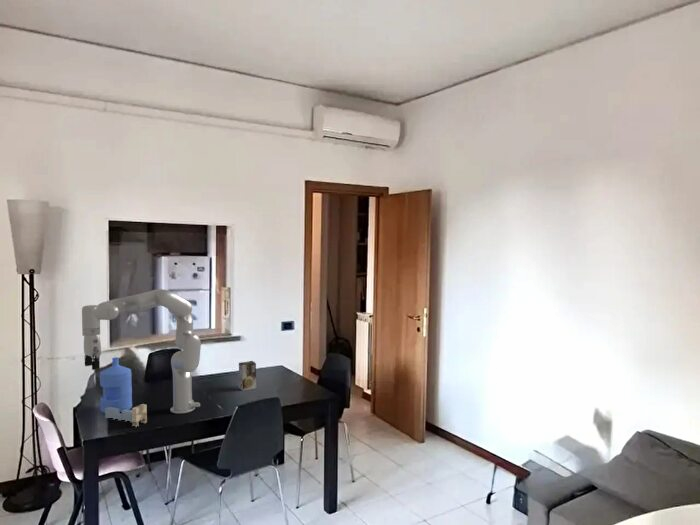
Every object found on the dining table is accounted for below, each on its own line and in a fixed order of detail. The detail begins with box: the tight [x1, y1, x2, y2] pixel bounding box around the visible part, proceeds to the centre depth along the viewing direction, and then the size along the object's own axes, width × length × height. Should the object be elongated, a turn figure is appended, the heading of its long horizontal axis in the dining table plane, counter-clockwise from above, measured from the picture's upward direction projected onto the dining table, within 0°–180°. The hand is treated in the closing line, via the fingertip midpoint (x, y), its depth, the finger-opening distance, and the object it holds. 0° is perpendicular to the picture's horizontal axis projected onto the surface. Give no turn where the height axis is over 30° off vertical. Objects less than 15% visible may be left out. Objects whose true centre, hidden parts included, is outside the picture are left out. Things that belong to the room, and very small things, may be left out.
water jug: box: [99, 357, 133, 414], centre depth 273 cm, size 16×16×28 cm
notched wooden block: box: [131, 403, 148, 428], centre depth 251 cm, size 7×3×9 cm, turn 160°
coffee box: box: [238, 360, 257, 392], centre depth 311 cm, size 9×6×16 cm
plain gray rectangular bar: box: [104, 407, 132, 423], centre depth 258 cm, size 18×3×5 cm, turn 69°
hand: (92, 367), depth 240 cm, fingers open, 9 cm apart
